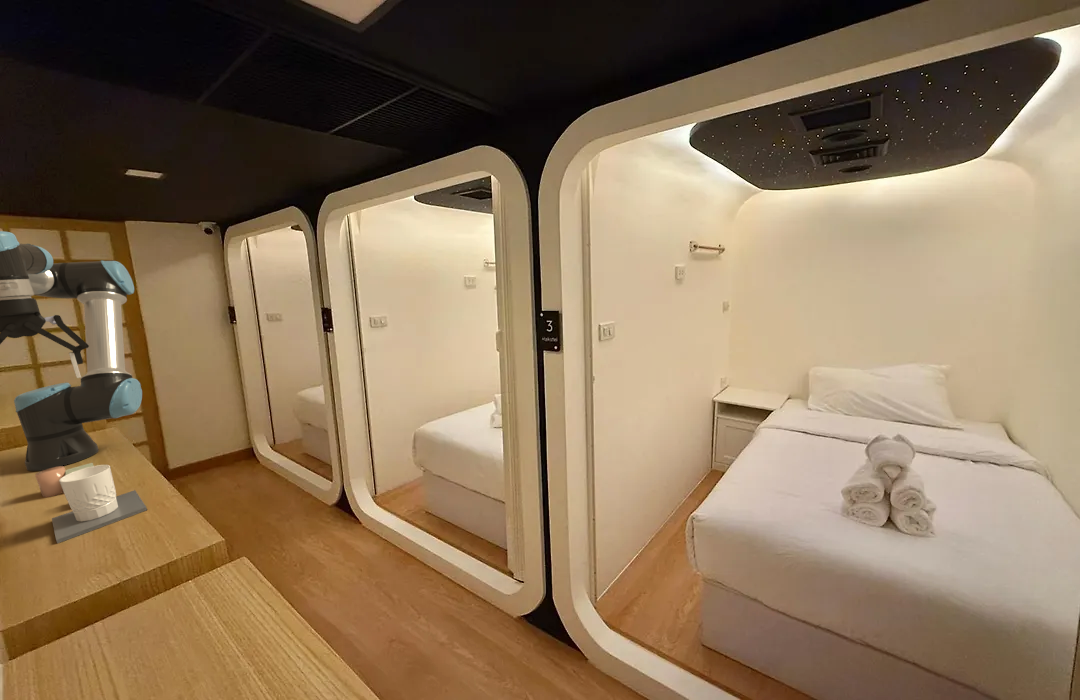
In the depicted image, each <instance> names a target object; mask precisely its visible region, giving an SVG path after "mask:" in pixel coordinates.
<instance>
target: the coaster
mask: <svg viewBox="0 0 1080 700" xmlns="http://www.w3.org/2000/svg"><path fill="white" fill-rule="evenodd" d="M116 500H117V504H118V508H117V509H116V510H114V511H113V512H111V513H109V514H107V515H105V516H102V517H100V518H97V519H93V520H90V521H83V522H81V521H77V520H76V518H75V515H74V513H73V510H72V511H69V512H67V513H63V514H61V515H57V516H55V517H52V518H51V521H52V522H51V523H52V526H53V531H54V535H55V540H56V543H57V544H60V543H63V542H65V541H68V540H71V539H74V538H77V537H80V536H82V535H84V534H87V533H89V532H92V531H94V530H98V529H101V528H103V527H106V526H108V525H111V524H114V523H116V522H118V521H122V520H124V519H127V518H130V517H132V516H133V517H134V516H135V515H138V514H141V513H143V512H146V511H148V508H147V506H146V504H145V503H144V501H143V500H142V498H141V497H140V495H139V493H137V491H136V490H135V489H134V490H131V491H129V492H126V493H122V494H120V495H116Z"/></svg>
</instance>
